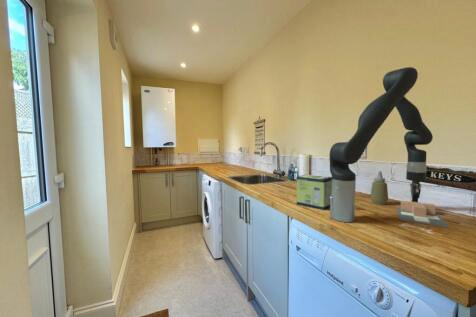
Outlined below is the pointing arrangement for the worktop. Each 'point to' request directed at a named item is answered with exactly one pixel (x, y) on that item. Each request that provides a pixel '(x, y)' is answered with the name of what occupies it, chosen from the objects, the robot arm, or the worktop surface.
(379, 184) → the squeeze bottle
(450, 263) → the worktop surface
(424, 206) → the T-block
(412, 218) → the mat
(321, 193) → the protein box
